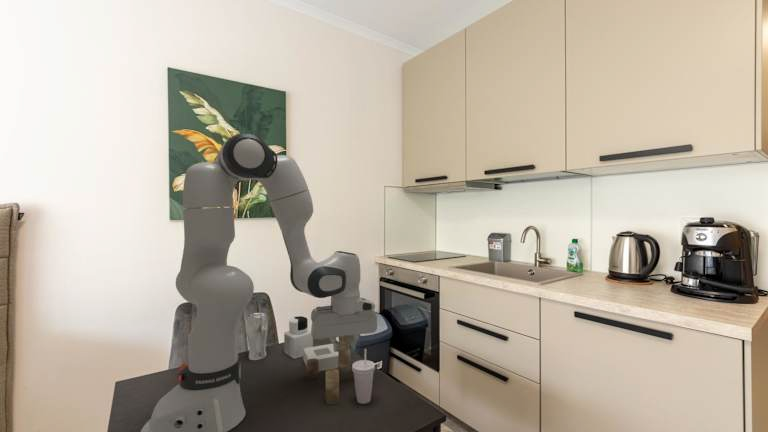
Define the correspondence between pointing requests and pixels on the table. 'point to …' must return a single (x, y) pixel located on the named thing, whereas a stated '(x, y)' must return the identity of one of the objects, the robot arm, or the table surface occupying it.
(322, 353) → the socket block
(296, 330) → the container
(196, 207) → the robot arm
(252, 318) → the beer glass
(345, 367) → the maple pin
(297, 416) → the table surface
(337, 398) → the oak pin
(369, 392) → the smoothie
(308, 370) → the walnut pin
